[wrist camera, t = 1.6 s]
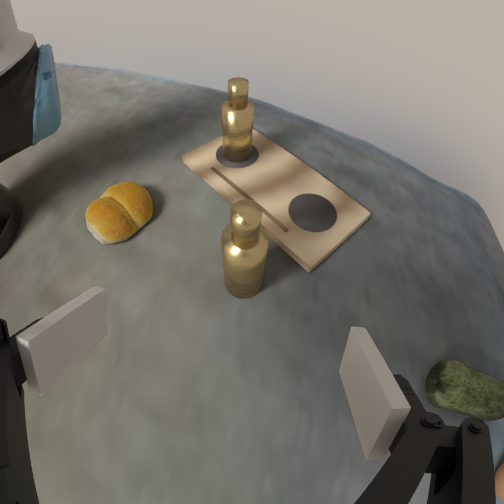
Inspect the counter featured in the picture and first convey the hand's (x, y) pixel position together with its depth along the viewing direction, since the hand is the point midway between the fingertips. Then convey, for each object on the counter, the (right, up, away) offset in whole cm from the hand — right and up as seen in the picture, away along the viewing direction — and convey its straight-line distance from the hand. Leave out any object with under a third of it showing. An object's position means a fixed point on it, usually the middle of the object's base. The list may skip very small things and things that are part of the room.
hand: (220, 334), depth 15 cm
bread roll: (-15, +8, +22) cm, 28 cm away
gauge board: (+4, +13, +25) cm, 29 cm away
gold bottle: (-1, +18, +27) cm, 32 cm away
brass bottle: (+1, +1, +18) cm, 18 cm away
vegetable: (+26, -12, +11) cm, 30 cm away
